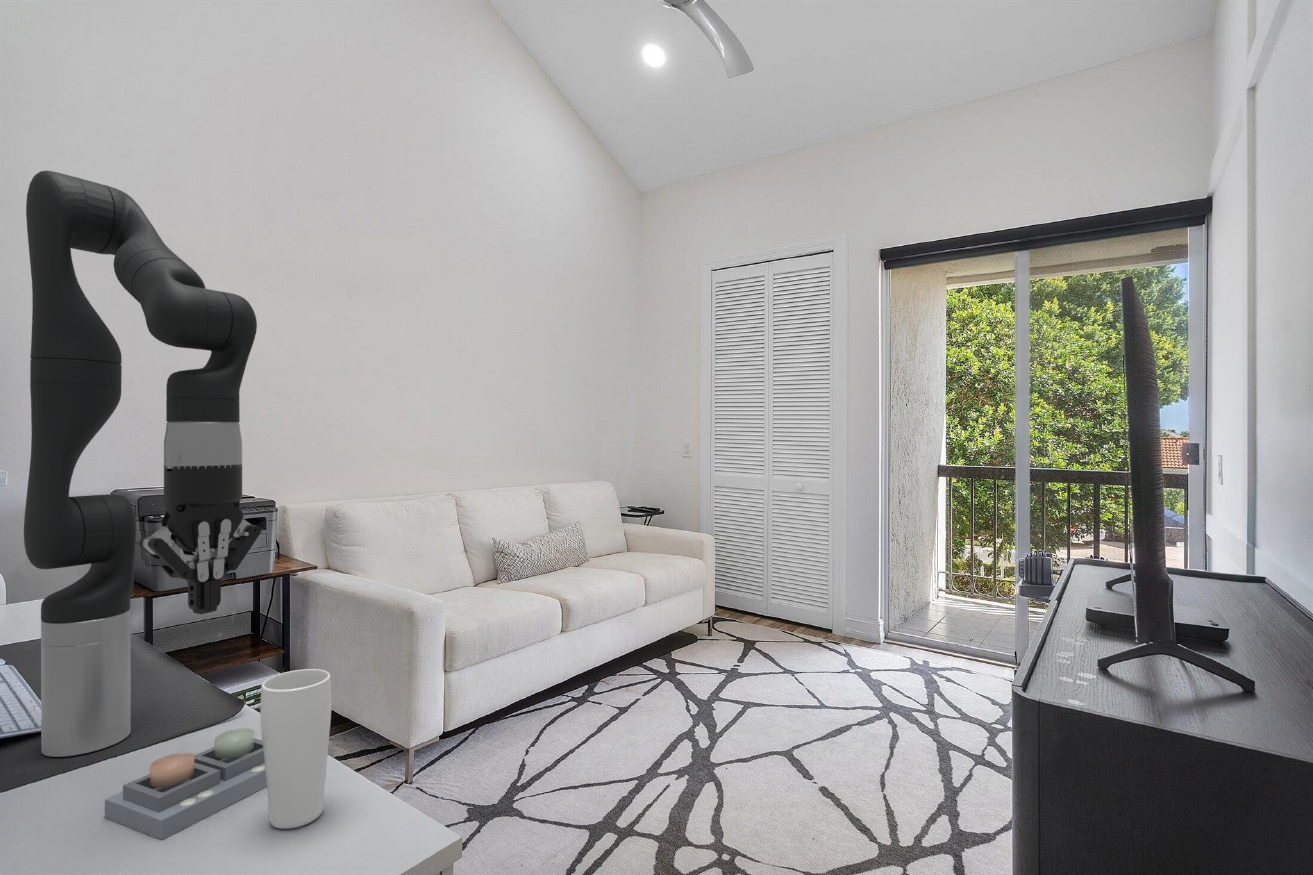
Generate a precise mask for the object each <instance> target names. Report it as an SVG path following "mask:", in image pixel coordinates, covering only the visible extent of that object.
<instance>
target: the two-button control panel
mask: <svg viewBox="0 0 1313 875" xmlns="http://www.w3.org/2000/svg"><path fill="white" fill-rule="evenodd" d="M193 755H194V754H193ZM265 788H267V782H266V771H265V762H264V752H263V742H262V739H259V738H255V737H254V748H253V749H252V750H251V751H250V752H248V753H246V754H244V755H241V756H238V757H234V758H227V759H221V758H217V757H215V746H214V747H210V748H209V749H206V750H203V751H201V752H199V753H197V754H195V755H194V775H193V776H192V777H191V778H189V779H188V780H186V781H184V782H181V783H179V784H175V785H172V786H166V787H154V786H151V785H150V773H149V774H147V775H144V776H142V777H139V778H137V779H134V780H132V781H130V782H128V783H125V784H123V785H122V791H120V792H118V793H115V794H114V795H111V796H109V797H106V798H105V799H104V818H105V819H108V820H110V821H112V822H115V823H117V824H120V825H122V826H125V827H127V828H129V829H133V830H135V831H138V832H140V833H143V834H145V835H148V836H150V837H153V838H156V839H157V840H161V841H163V840H164V839H166V838H168V837H170V836H173V835H174V834H176V833H179V832H180V831H182V830H184V829H186V828H188V827H189V826H192V825H194V824H196V823H197V822H200V821H202V820H204V819H206V818H207V817H208V818H209V816H211V815H213V814H215V813H218V812H220V811H221V810H224V809H226V808H228V807H229V806H231V805H233V804H235V803H237V802H240V801H241V800H243V799H245V798H247V797H249V796H251V795H253V794H255V793H257V792H259V791H261V790H262V789H265Z"/></svg>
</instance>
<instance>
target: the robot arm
mask: <svg viewBox="0 0 1313 875" xmlns="http://www.w3.org/2000/svg"><path fill="white" fill-rule="evenodd" d="M25 216H26V217H25V218H26V231H27V241H28V242H27V244H28V253H29V264H30V265H29V266H30V274H31V292H32V296H31V297H32V298H31V299H32V300H31V301H32V311H31V312H32V316H31V317H32V318H31V341H30V342H31V343H30V354H29V355H30V364H29V366H30V368H29V369H30V370H29V371H30V372H29V376H30V377H29V378H30V380H29V381H30V382H29V387H30V388H29V389H30V408H31V409H30V412H31V413H30V415H31V416H30V421H31V423H30V424H31V430H30V431H31V439H30V440H31V441H30V442H31V443H30V444H31V445H30V447H31V448H30V462H29V470H28V472H29V473H28V481H27V489H26V498H25V509H24V517H23V518H24V519H23V520H24V521H23V543H24V544H23V545H24V549H25V553H26V554H25V555H26V556H27V559H28V561H29V562H30V564H31V565H32V566H34V567H35V568H37V569H39V570H40V569H41V570H55V569H63V568H70V567H77V566H85V565H90V568H89V569H88V571H87V572H86V573H85V574H84V575H83V576H81V577H80V578H79V579H77V580H76V581H74V582H73V583H71V584H70V585H68V586H66V587H64V588H62V589H60V590H58V591H55V592H53V593H51V594H48V595H47V596H46V597H45V598H44V599H43V600H42V602H41V604H40V605H41V606H40V659H41V660H40V665H41V666H40V668H41V669H40V673H41V674H40V679H41V680H40V684H41V685H40V690H41V691H40V692H41V693H40V695H41V696H40V699H41V702H40V704H41V707H40V708H41V711H40V713H41V714H40V715H41V716H40V717H41V720H40V721H41V722H40V723H41V724H40V726H41V728H40V729H41V730H40V731H41V734H40V737H41V740H40V741H41V745H40V747H41V754H42V755H44V756H47V757H52V758H53V757H54V758H55V757H56V758H59V757H60V758H61V757H63V758H64V757H72V756H78V755H83V754H87V753H88V754H89V753H92V752H96V751H99V750H102V749H105V748H108V747H110V746H114V745H115V744H118V743H119V742H121V741H123V740H125V739H126V738H127V737H128V736H129V735H130V733H131V728H132V727H131V720H132V719H131V710H132V709H131V703H132V700H131V698H132V696H131V694H132V693H131V682H132V678H131V676H132V675H131V674H132V673H131V597H132V593H133V589H134V579H135V576H134V575H135V558H136V556H135V554H136V546H137V545H136V541H137V519H136V514H135V510H134V507H133V505H132V504H131V502H130V501H129V499H128V498H127V497H125V496H124V495H121V494H117V493H115V494H114V493H113V494H112V493H111V494H110V493H109V494H94V495H93V494H92V495H91V494H90V495H78V496H77V495H75V496H70V487H71V481H72V478H73V474H74V470H75V468H76V465H77V463H78V460H80V457H81V455H82V454H83V452H84V451H85V450H86V448H87V446H88V445H89V443H90V442H91V441H92V440H93V439H94V438H95V437H96V435H97V434H98V433H99V432H100V430H101V429H102V428H103V427H104V426H105V425H106V423H107V422H108V421H109V419H110V418H111V416H112V415H113V414H114V412H115V410H116V409H117V407H118V405H119V403H120V400H121V396H122V376H123V375H122V373H123V372H122V371H123V370H122V369H123V368H122V367H123V366H122V365H123V363H122V362H123V361H122V359H123V358H122V352H121V348H120V345H119V344H118V342H117V339H116V338H115V337H114V335H113V333H112V332H111V330H110V329H109V327H108V326H107V325H106V323H105V322H104V320H103V319H102V318H101V316H100V315H99V314H98V311H96V309H95V308H94V307H93V305H92V304H91V302H90V301H89V299H88V298H87V296H86V295H85V293H84V291H83V289H82V287H81V285H80V283H79V281H78V278H77V275H76V270H75V267H74V263H73V257H72V249H74V250H77V251H83V252H88V253H94V254H97V255H98V254H99V255H112V256H114V258H113V270H114V274H115V276H116V279H117V280H118V282H119V283H120V285H121V286H122V288H124V289H125V291H126V292H127V293H128V294H129V295H130V296H131V297H132V298H134V299H135V301H136V302H138V303H139V304H140V307H141V309H142V312H143V316H144V318H145V322H146V326H147V329H148V332H149V333H150V335H151V336H152V337H154V339H155V340H157V341H159V342H161V343H163V344H165V345H167V346H171V347H174V348H179V349H180V348H182V349H193V350H201V351H208V352H209V351H210V356H209V358H208V359H207V363H206V364H205V365H204V366H203V367H201V368H194V369H193V368H191V369H185V370H184V369H183V370H177V371H175V372H173V373H172V374H170V375H169V376H168V378H167V380H166V390H165V391H166V393H165V394H166V397H165V398H166V402H165V403H166V404H165V405H166V407H165V408H166V414H165V420H166V427H165V428H166V429H165V434H164V439H163V502H164V505H165V506H164V507H165V513H164V515H163V517H162V518H161V521H160V525H161V527H160V528H159V529H157V530H156V531H155V532H154V533H153V534H151V535H150V536H148V537H147V536H145V537H141V539H139V541H138V546H139V547H140V548H141V549H142V550H143V551H144V552H145V553H146V555H148V556H149V557H150V558H151V559H152V560H153V562H155V564H156V565H158V566H159V567H160V569H162V571H164V573H165V574H166V575H168V576H169V578H173V579H176V578H177V579H181V580H185V581H186V582H187V606H188V608H189V609H190V610H192V612H193V613H194V614H198V615H205V614H210V613H214V612H217V610H218V606H220V604H221V602H222V593H221V592H222V585H221V584H222V583H221V582H222V577H223V576H224V575H225V574H227V573H229V572H231V571H235V570H237V569H238V568H239V566H241V563H242V561H243V560H244V559H245V557H246V556H247V554H248V553H249V551H250V549H252V547H253V545H254V544H255V542H256V541H257V539H259V536H260V535H261V533H262V527H261V526H260V525H256V524H252V523H250V522H248V521H247V520H246V519H244V515H245V514H244V512H243V510H242V508H241V506H240V504H241V503H240V502H241V500H242V499H243V440H242V434H241V426H240V422H241V420H240V417H241V416H240V407H241V406H240V405H241V404H240V390H241V386H242V382H243V377H244V374H245V370H246V367H247V364H248V359H249V357H250V353H251V351H252V348H253V346H254V342H255V340H256V339H255V338H256V335H257V328H258V322H257V316H256V313H255V311H254V308H253V307H252V305H251V304H250V302H249V301H248V300H247V299H246V298H244V297H243V296H242V295H239V294H237V293H236V294H235V293H231V292H226V291H219V290H214V289H209V288H206V285H205V282H204V280H203V279H202V278H201V276H200V275H199V274H198V273H197V272H196V271H195V270H194V269H193V268H192V267H191V266H189V265H188V264H187V263H186V262H185V261H184V260H183V259H182V258H181V257H179V256H178V255H177V254H176V253H174V252H173V251H172V249H170V248H169V247H168V246H167V245H166V244H165V242H164V241H163V240H162V238H161V237H160V235H159V234H158V231H157V230H156V228H155V227H154V225H153V224H152V223H151V221H150V219H149V218H148V217H147V215H146V214H145V212H144V210H143V209H142V208H141V206H140V205H139V204H138V203H137V202H136V200H135V199H134V198H133V197H132V196H130V195H129V194H128V193H126V192H125V191H123V190H120V189H118V188H116V187H112V186H109V185H106V184H102V183H99V182H95V181H92V180H88V179H84V178H80V177H77V176H73V175H69V174H65V173H61V172H57V171H53V170H41V171H39V172H37V173H36V174H35V175H34V176H33V177H32V179H31V181H30V183H29V184H28V190H27V194H26V206H25ZM173 542H174V543H173ZM174 544H176V546H177V547H178V548H179V554H180V556H179V555H178V554H177V553H176V552H175V550H174V549H173V548H172V547H173V545H174Z"/></svg>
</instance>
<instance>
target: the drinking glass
mask: <svg viewBox="0 0 1313 875" xmlns="http://www.w3.org/2000/svg"><path fill="white" fill-rule="evenodd" d="M260 688H261V689H260V690H261V691H260V730H261V740H262V742H263V752H264V762H265V771H266V782H267V787H266V788H267V791H266V792H267V803H268V821H269V824H270V825H271V826H272V827H274V828H277V829H281V830H289V829H297V828H301V827H303V826H306V825H308V824H311V822H314V821H315V820H317V819H318V818H319V817H320V816H321V815H322V813H323V812H324V809H325V800H326V799H325V797H326V796H325V792H326V791H325V790H326V778H327V765H328V763H327V762H328V754H329V752H328V751H329V742H330V731H331V720H332V719H331V718H332V682H331V673H330V672H328V671H327V670H324V669H318V668H306V669H304V668H303V669H296V670H295V669H294V670H290V671H286V672H281V673H278V674H275V675H273V676H270V677H269V678H267V679H265V680H264V681H263V682H262V684H261V687H260Z"/></svg>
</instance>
